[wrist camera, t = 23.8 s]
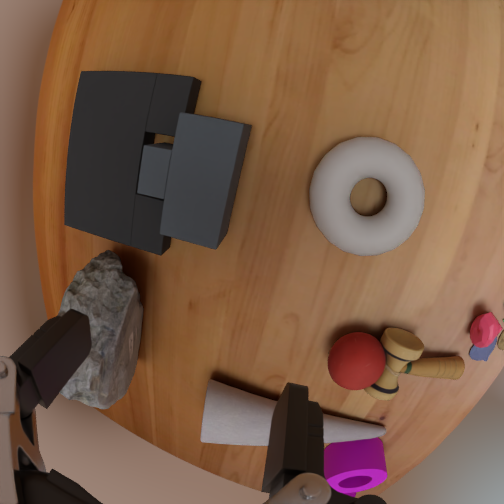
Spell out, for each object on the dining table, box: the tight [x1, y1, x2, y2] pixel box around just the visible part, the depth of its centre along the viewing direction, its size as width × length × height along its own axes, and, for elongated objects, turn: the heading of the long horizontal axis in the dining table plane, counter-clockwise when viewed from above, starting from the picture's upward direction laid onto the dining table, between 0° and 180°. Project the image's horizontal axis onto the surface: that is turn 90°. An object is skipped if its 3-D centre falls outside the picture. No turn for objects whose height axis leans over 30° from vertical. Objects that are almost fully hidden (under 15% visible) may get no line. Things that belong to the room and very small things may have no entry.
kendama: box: [328, 328, 465, 400], centre depth 28 cm, size 8×6×18 cm
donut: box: [309, 137, 425, 256], centre depth 23 cm, size 10×4×10 cm
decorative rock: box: [57, 250, 143, 409], centre depth 26 cm, size 16×7×15 cm, turn 162°
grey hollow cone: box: [201, 379, 386, 446], centre depth 33 cm, size 8×9×26 cm
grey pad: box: [137, 112, 252, 249], centre depth 24 cm, size 10×8×4 cm
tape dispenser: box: [324, 437, 387, 497], centre depth 37 cm, size 16×10×6 cm, turn 172°
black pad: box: [65, 71, 201, 255], centre depth 25 cm, size 16×12×2 cm
